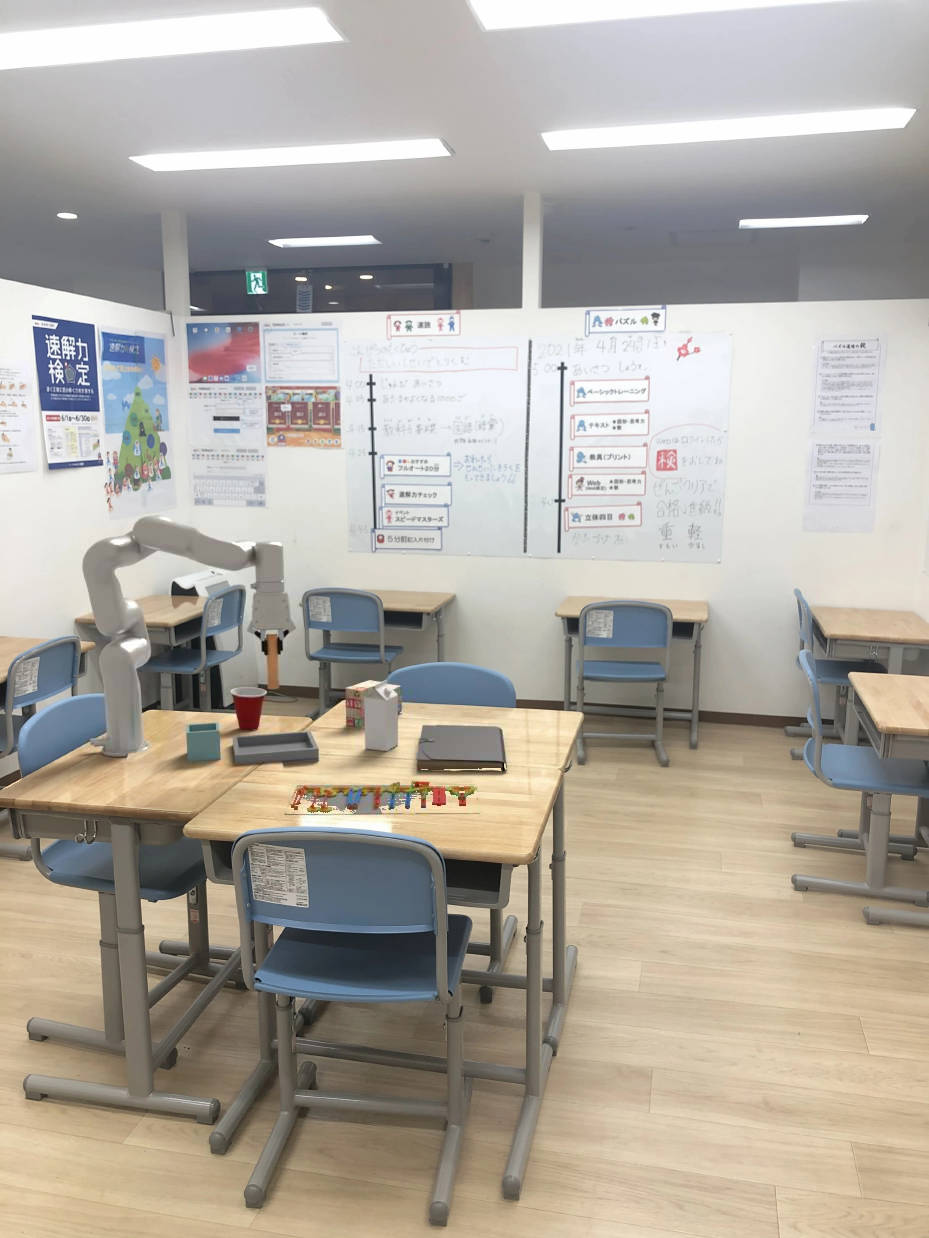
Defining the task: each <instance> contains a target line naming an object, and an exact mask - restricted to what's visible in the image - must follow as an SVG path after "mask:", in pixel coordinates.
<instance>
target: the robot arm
mask: <svg viewBox="0 0 929 1238" xmlns="http://www.w3.org/2000/svg"><path fill="white" fill-rule="evenodd" d="M158 551H159V552H162V553H163V552H164V553H168V554H170V555H171V554H172V555H176V556H179V557H183V558H187V559H189V560H191V561H194V562H197V563H199V564H202V565H205V566H209V567H213V568H217V569H219V570H220V569H221V570H225V571H230V572H238V571H241V570H243V569H247V568H251V567H255V568H254V569H255V571H254V572H255V582H253V583H250V590H254V591H255V592H253V595H252V603H251V604H252V605H251V621H250V622H249V624H248V626H247V629H246V631H247V632H248V633H249V634H252V635H254V636H256V638H258V639H259V640H260V642H261V644H260V645H261V646H260V647H261V653H263V654H264V656H267V641H266V634H267V633H266V632H267V631H275V630H276V631H277V638H278V640H277V644H278V656H281V654H282V653H281V652H283V651H284V643H283V642H284V641H283V640H284V639H285V638H286V636H288V635H289V634H290V633H293V632H294V631H295V630H296V628H297V627H296V625H295V623H294V622H293V620H292V618H291V616H292V615H291V605H290V597H289V593H288V591H285V569H284V568H285V565H284V546H283V543H281V542H279V541H252V540H246V539H245V540H244V539H243V540H237V541H236V540H235V541H232V542H231V541H227V540H222V539H219V538H214V537H210V536H208V535H205V534H204V533H202V532H201V531H200V529H198V528H197V527H195V526H193V525H192V526H191V525H187V524H183V523H178V522H176V521H173V520H171V518H169V517H167V516H165V515H160V514H158V515H157V514H156V515H149V516H143V517H141V518H139V519H138V520H136V521H135V523H134V525H133V527H132V530H131V531H128V532H127V533H125V534H123V535H120V536H119V535H118V536H111V537H108V538H107V537H106V538H103V539H100V540H99V541H97V542H95V543H94V544H92V545H91V546H90V547H88V549H87V550H86V552H85V554H84V556H83V558H82V564H81V565H82V566H81V567H82V574H83V578H84V582H85V584H86V588H87V592H88V597H89V602H90V606H91V607H90V608H91V610H92V614H93V619H94V623H95V624H94V625H95V626H96V628H97V630H98V632H99V633H101V635H104V636H106V637H115V640H113V641H111V642H110V643H109V642H108V643H107V644H106V645H105V646H104V647H103V649H102V650H101V652H100V654H99V658H98V659H99V660H98V663H99V669H100V673H101V677H102V682H103V683H102V685H103V695H104V696H103V697H104V709H105V710H104V711H105V723H106V724H105V725H106V726H105V727H106V734H105V736H102V737H99V738H98V737H96V738H95V737H93V738H89V739H90V740H89V741H90V742H89V743H90V746H94V747H95V748H97V747H102V748H101V754H103V755H104V756H107V757H116V758H119V757H120V758H122V757H123V758H124V757H128V755H130V754H134V753H135V754H136V753H139V752H142V751H144V750H146V749H148V748H149V747H150V743H149V742H147V741H144V730H143V714H142V713H143V710H142V707H143V706H142V695H141V693H142V692H141V691H142V690H141V682H140V680H139V679H140V678H139V675H138V672H137V669H139V668H141V667H142V666H144V665H145V664H146V663H147V662H148V661H149V660H150V657H151V655H152V647H151V641H150V640H151V639H150V637H149V632H148V627H147V623H146V619H145V616H144V612H143V610H142V608H141V607H140V605H139V604H138V603H137V602H136V601H135V600H134V599H132V598H128V597H124V595H123V591H122V586H121V583H120V580H119V579H118V577H117V575H116V573H115V572H116V570H117V569H119V568H124V567H127V566H128V567H129V566H132V565H135V564H137V563H139V562H141V561H143V560H145V559H146V558H148V557H149V556H151V555H152V554H155V553H156V552H158Z"/></svg>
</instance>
